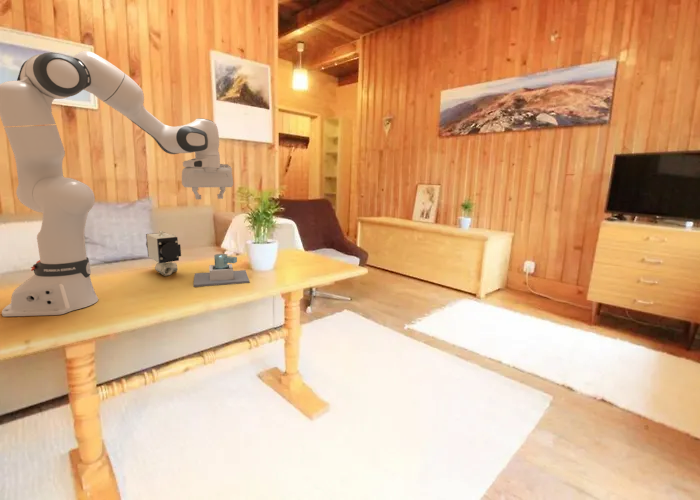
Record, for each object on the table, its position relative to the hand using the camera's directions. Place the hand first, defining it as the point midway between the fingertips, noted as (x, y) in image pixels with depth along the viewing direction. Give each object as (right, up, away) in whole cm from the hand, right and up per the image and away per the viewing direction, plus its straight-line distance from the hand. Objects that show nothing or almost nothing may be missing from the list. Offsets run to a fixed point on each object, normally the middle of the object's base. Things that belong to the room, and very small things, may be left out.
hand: (209, 198), depth 141 cm
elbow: (+7, -31, 0) cm, 32 cm away
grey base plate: (+5, -32, 0) cm, 32 cm away
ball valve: (-20, -30, +5) cm, 36 cm away
